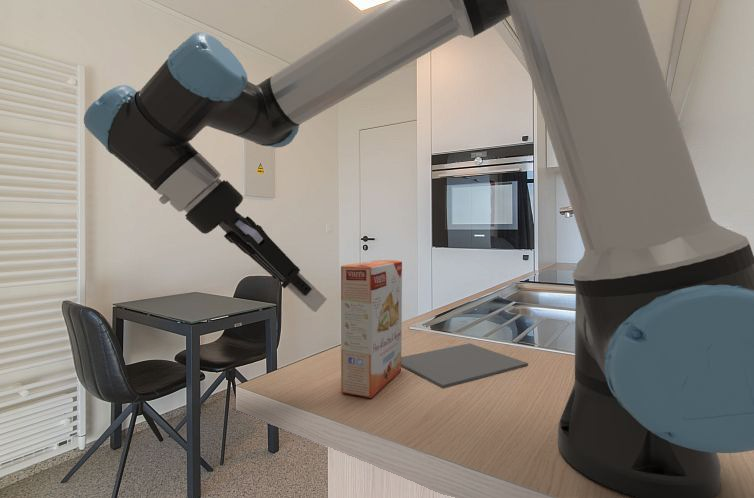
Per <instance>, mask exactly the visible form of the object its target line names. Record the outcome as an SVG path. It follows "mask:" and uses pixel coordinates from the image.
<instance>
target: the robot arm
mask: <svg viewBox="0 0 754 498" xmlns="http://www.w3.org/2000/svg"><path fill="white" fill-rule="evenodd" d="M509 17H511V20H512V23H513V26H514V29H515V32H516V36H517V39H518V42H519V45H520V49H521V51H522V55H523V57H524V61H525V65H526V67H527V70H528V75H529V76H530V79H531V83H532V86H533V89H534V93H535V96H536V99H537V102H538V105H539V108H540V112H541V115H542V117H543V121H544V125H545V126H546V127H545V128H546V130H547V134H548V137H549V140H550V143H551V146H552V149H553V153H554V156H555V158H556V161H557V166H558V168H559V171H560V174H561V175H560V176H561V178H562V181H563V185H564V188H565V191H566V193H567V197H568V201H569V203H570V206H571V210H572V212H573V216H574V218H575V219H574V220H575V222H576V226H577V229H578V232H579V235H580V238H581V241H582V244H583V248H584V253H583V256H582V258H581V259H579V261H578V262H577V264H576V267H575V269H574V270H573V272H572V278H573V286H574V288H575V314H574V315H575V318H574V319H575V321H574V324H575V326H574V327H575V328H574V330H575V331H574V332H575V333H574V336H575V338H574V382H573V383H574V384H573V386H572V389H571V391H570V394H569V396H568V399H567V401H566V404H565V407H564V409H563V411H562V414H561V417H560V419H559V421H558V426H557V427H558V428H557V446H558V449H559V453H560V455H562V457H563V458H564V459H565V460H566V461H567V463H569V465H571V467H573V469H575V470H577V471H578V472H579V473H581V474H582V475H584V476H586V477H588V478H590V479H591V480H593V481H594V482H596V483H598V484H600V485H603V486H604V487H608V488H609V489H612V490H613V491H617V492H620V493H622V494H626V495H629V496H631V497H632V496H633V497H635V498H714V497H715V496H717V495H718V494H719V492H720V489H721V461H720V458H719V455H718V454H737V453H745V452H751V451H754V252H753V250H752V247H751V244H750V242H749V239H748V238H747V236H745V235H742V234H741V233H738V232H736V231H734V230H731V229H729V228H726V227H724V226H722V225H720V224H718V223H717V222H716V221H714V220H713V219H712V217H711V214H710V210H709V208H708V204H707V201H706V199H705V195H704V193H703V191H702V187H701V185H700V181H699V178H698V175H697V173H696V169H695V167H694V164H693V160H692V158H691V155H690V152H689V151H690V150H689V148H688V145H687V142H686V139H685V137H684V133H683V131H682V127H681V125H680V122H679V119H678V116H677V112H676V110H675V107H674V104H673V101H672V97H671V95H670V93H669V88H668V86H667V83H666V79H665V77H664V74H663V72H662V68H661V65H660V62H659V60H658V57H657V53H656V50H655V48H654V45H653V42H652V38H651V36H650V33H649V30H648V27H647V23H646V21H645V17H644V15H643V12H642V9H641V6H640V3H639V0H389V1H388V2H386V3H384V4H383V5H381V6H380V7H378V8H377V9H374V10H373V11H371V12H370V13H368V14H366V16H364V17H362V18H360V19H359V20H358V21H356V22H355V23H353V24H351V25H349V26H348V27H346V28H345V29H343V30H342V31H341V32H339V33H337V34H336V35H334V36H333V37H331V38H329V39H328V40H326V41H325V42H323V43H321V44H320V45H318V46H317V47H316V48H313V49H312V50H310V51H309V52H308V53H306V54H304V55H303V56H301V57H300V58H298V59H296V60H295V61H293V62H292V63H290V64H288V65H287V66H286V67H283V68H282V69H281V70H279V71H278V72H276V73H274V74H273V75H272V76H270V77H268V78H266V79H265V80H263V81H261V82H260V83H258V84H255V83H252V82H250V81H248V74H247V72H246V70H245V68H244V66H243V64H242V63H241V61H240V60H239V59H238V58H237V57H236V55H235V54H234V53H233V52H232V51H231V50H230V48H228V47H226V46H225V45H224V44H223V42H221V41H220V40H219V39H217V38H216V37H214V36H213V35H211V34H208V33H206V32H195V33H193V34H191V35H190V36H188V38H187V39H186V40H184V41H183V42H182V43H181V44H180V45H179V46H178V47H177V48H176V49H174V50H172V51H171V53H170V54H169V55H168V58H167V59H166V60H165V61H164V62H163V64H162V65H161V66H160V67H159V68H158V70H156V72H155V73H154V74H153V75H152V77H150V79H148V81H147V82H145V83H146V84H145V85H144V86H142V88H141V89H139V90H136V89H135V88H133V87H132V86H130V85H126V84H120V85H118V86H116V87H113V88H111V89H109V90H107V91H106V92H104V93H103V94H102V95H101V96H100V97H99V98H98V99H96V100H95V101H94V102H92V103H91V105H90V106H89V107H88V108H87V110H86V111H85V113H84V116H83V124H84V127H85V128H86V129H87V130H88V132H90V134H92V135H93V137H95V139H96V140H98V141H99V142H100V143H101V144H102V145H103V146H104V147H105V149H106V151H107V152H109V153H110V154H111V155H113V156H114V157H115V158H117V159H118V160H119V161H120V162H122V163H123V164H124V165H125V166H126V167H128V168H129V169H130V170H131V171H132V172H133V173H135V174H136V175H137V176H138V177H139V178H141V179H142V180H143V181H144V182H145V183H147V184H148V186H150V187H151V189H153V190H154V191H155V192H156V193H157V194H158V195H161V196H160V197H159V199H158V201H159V202H160V203H161V204H162V205H165V204H167V203H170V205H171V206H172V207H173V208H174V209H175V210H176V211H177V212H178V213H179V212H181V213H182V212H183V211H185V212H186V214H185V215H184V216H185V219H186V221H188V222H189V223H190V224H192V226H193V227H195V228H196V229H197V230H198V231H199V232H201V234H205V235H206V234H209V233H210V232H212V231H213V230H214V229H215V228H217V227H218V226H219V227H220V228H221V229H222V230H223V231H224V232H225V234H224V235H223V237H224V239H226V240H227V241H228V242H229V243H230V244H234V245H235V246H236V247H238V249H240V251H241V252H243V253H244V254H246V255H247V256H249V258H251V259H252V260H253V261H254V262H255V263H257V264H258V265H259V267H261V268H263V270H265V271H266V272H267V273H268V274H269V275H270V276H271V277H272V278H273V279H275V280H278V281H279V283H281V285H280V286H281V287H282V288H283V289H286V288H287V289H288V290H289V291H290V292H292V294H294V296H295V297H297V298H298V299H299V300H300V301H301V302H302V303H303V304H304V305H305V306H306V307H308V308H309V309H310V310H311V312H314V313H317V312H318V310H320V308H321V307H322V306H323V305H324V303H325V302H326V301H327V300H328V299H327V298H326V297H325V296H324V294H322V293H321V292H320V291H319V290H318V289H317V288H316V287H315V286H314V285H313V284H312V283H311V282H310V281H309V280H308V279H306V278H305V276H303V274H301V273H300V271H301V269H300V268H299V266H297V265H296V264H295V263H294V262H293V261H292V260H291V259H290V257H288V256H287V255H286V254H285V252H283V251H282V249H281V248H280V247H279V246H278V245H277V244H276V243H275V242H274V241H273V240H272V238H270V236H268V234H267V233H266V232H265V230H264V229H263V226H261V225H259V224H257V223H256V222H255V221H254V220H253V219H252V218H251V217H249V216H243V215H241V214H240V213H239V212H237V210H236V209H237V208H238V207H239V206H240V205H241V204H242V202H243V200H244V197H243V195H242V194H241V193H240V191H238V190H237V189H236V188H235V186H234V185H232V184H231V183H230V182H229V181H228V180H225V179H223V180H221V178H220V177H221V172H220V171H219V170H217V169H216V167H214V165H213V164H211V163H210V162H209V160H207V159H206V158H205V157H204V155H202V154H201V153H200V152H198V150H196V149H195V147H194V146H193V145H192V144H191V143H190V141H192V140H193V139H195V137H196V136H197V135H198V134H199V133H200V132H201V131H202V130H203V129H205V127H209V128H212V129H215V130H218V131H220V132H224V133H226V134H231V135H233V136H236V137H239V138H242V139H244V140H247V141H250V142H253V143H255V144H257V145H260V146H263V147H271V148H275V149H276V148H283V147H286V146H288V145H289V144H291V143H292V142H293V140H294V138H295V137H296V136H297V134H298V132H299V128H300V125H301V124H303V123H305V122H307V121H308V120H310V119H312V118H314V117H316V116H317V115H320V114H321V113H323V112H324V111H326V110H328V109H330V108H332V107H334V106H335V105H337V104H339V103H341V102H343V101H344V100H346V99H348V98H350V97H352V96H353V95H355V94H357V93H359V92H361V91H362V90H364V89H365V88H367V87H369V86H371V85H373V84H375V83H376V82H378V81H380V80H382V79H384V78H386V77H388V75H391V74H392V73H394V72H396V71H399V70H400V69H401V68H403V67H405V66H406V65H408V64H410V63H412V62H414V61H415V60H418V59H419V58H421V57H423V56H424V55H427V54H428V53H430V52H432V51H434V50H435V49H437V48H438V47H441V46H442V45H444V44H446V43H447V42H450V41H451V40H453V39H455V38H457V37H460V36H464V37H467V38H470V39H472V38H474V37H476V36H478V35H480V34H481V33H483V32H486V31H487V30H488V29H491V28H492V27H494V26H496V25H498V24H499V23H501V22H502V21H504V20H506V19H508V18H509Z"/></svg>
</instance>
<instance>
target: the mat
mask: <svg viewBox="0 0 754 498" xmlns="http://www.w3.org/2000/svg"><path fill="white" fill-rule="evenodd" d="M527 366H529V363H528V362H526V361H524V360H521V359H517V358H514V357H511V356H509V355H505V354H502V353H500V352H497V351H494V350H491V349H487V348H484V347H481V346H479V345H476V344H473V343H464V344H459V345H454V346H450V347H444V348H439V349H434V350H430V351H425V352H420V353H415V354H409V355H405V356H401V368H404V369H405V370H407V371H409V372H411V373H413V374H415V375H417V376H419V377H420V378H422V379H425V380H426V381H429V382H430V383H432V384H434V385H436V386H437V387H440V388H442V389H444V388H448V387H452V386H456V385H460V384H463V383H467V382H471V381H475V380H479V379H483V378H486V377H491V376H494V375H498V374H501V373H505V372H509V371H513V370H516V369H517V370H518V369H520V368H525V367H527Z"/></svg>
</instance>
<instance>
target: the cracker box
mask: <svg viewBox="0 0 754 498" xmlns="http://www.w3.org/2000/svg"><path fill="white" fill-rule="evenodd" d="M402 297H403V262H402V261H401V260H385V259H384V260H381V259H380V260H379V259H378V260H372V261H371V260H370V261H364V262H358V263H351V264H344V265H340V333H341V334H340V376H341V377H340V378H341V379H340V383H341V384H340V385H341V387H340V392H341V393H342V394H348V395H352V396H358V397H363V398H368V399H372V398H373V397H374V396H375V395H376V394H377V393H378V392H379V391H381V390H382V389H383V388H384V387H386V385H387V384H388V383H389V382H390V381H391V380H393V379H394V378H395V377H396V376H397V375H398V374H399V373H401V371H402V367H401V357H402V341H403V340H402V331H403V330H402V323H403V322H402V321H403V320H402V317H403V316H402V315H403V312H402V308H403V307H402V306H403V303H402V300H403V298H402Z"/></svg>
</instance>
